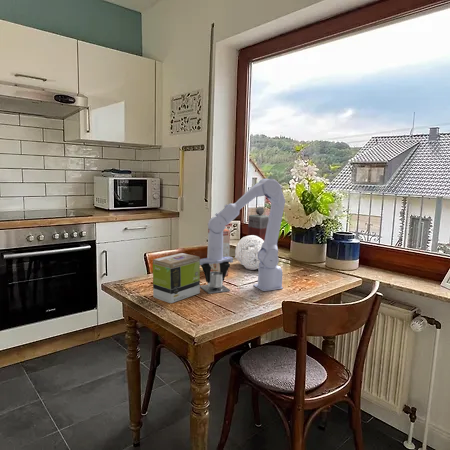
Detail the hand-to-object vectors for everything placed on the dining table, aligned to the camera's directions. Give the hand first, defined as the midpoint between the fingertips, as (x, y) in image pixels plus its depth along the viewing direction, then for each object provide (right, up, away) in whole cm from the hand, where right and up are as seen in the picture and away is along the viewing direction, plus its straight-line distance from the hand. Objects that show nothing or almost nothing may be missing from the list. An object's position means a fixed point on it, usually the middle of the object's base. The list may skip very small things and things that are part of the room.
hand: (214, 281), depth 143 cm
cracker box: (+1, 0, +25) cm, 25 cm away
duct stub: (0, -3, 0) cm, 3 cm away
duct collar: (0, -2, 0) cm, 2 cm away
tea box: (-14, -4, -9) cm, 17 cm away
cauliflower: (+18, +1, +36) cm, 41 cm away
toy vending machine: (+22, +4, +60) cm, 64 cm away
